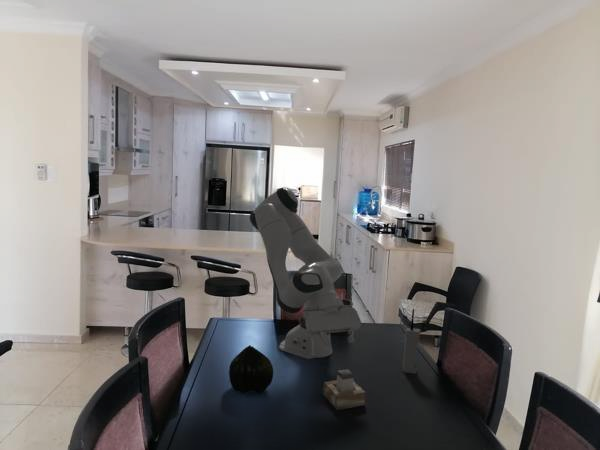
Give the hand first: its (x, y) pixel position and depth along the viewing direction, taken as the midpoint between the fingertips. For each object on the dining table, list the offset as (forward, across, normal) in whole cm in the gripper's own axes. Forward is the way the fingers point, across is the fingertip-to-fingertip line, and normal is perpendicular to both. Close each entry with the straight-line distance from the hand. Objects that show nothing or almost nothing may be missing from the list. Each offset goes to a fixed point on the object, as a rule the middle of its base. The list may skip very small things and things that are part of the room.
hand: (339, 343), depth 145 cm
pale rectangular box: (+15, 0, +8) cm, 17 cm away
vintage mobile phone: (+8, +36, +16) cm, 40 cm away
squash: (+4, -27, +21) cm, 35 cm away
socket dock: (+16, 0, +9) cm, 18 cm away
